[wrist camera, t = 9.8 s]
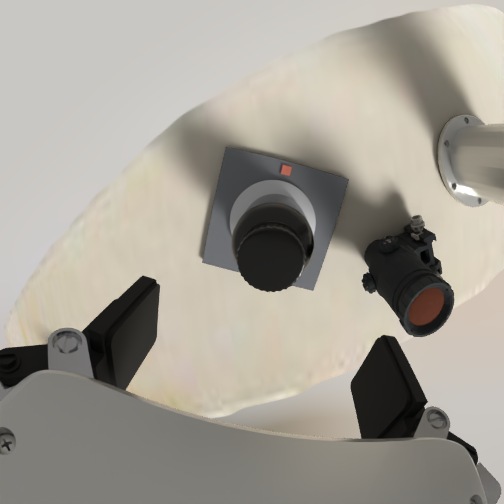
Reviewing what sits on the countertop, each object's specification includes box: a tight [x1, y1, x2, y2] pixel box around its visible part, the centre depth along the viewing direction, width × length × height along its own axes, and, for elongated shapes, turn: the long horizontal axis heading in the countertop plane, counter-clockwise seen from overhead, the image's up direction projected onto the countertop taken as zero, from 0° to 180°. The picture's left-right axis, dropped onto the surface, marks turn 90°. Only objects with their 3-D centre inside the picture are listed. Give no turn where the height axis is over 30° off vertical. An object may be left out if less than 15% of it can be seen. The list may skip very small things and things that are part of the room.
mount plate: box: [202, 147, 349, 290], centre depth 31 cm, size 14×14×2 cm
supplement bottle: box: [231, 194, 314, 292], centre depth 24 cm, size 7×7×12 cm
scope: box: [362, 215, 454, 337], centre depth 25 cm, size 8×14×10 cm
